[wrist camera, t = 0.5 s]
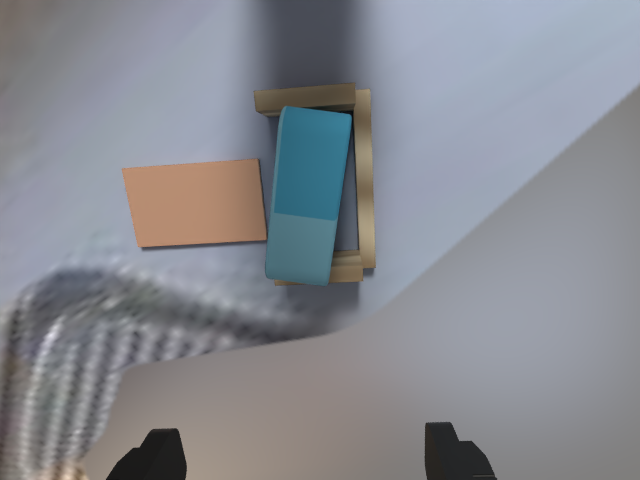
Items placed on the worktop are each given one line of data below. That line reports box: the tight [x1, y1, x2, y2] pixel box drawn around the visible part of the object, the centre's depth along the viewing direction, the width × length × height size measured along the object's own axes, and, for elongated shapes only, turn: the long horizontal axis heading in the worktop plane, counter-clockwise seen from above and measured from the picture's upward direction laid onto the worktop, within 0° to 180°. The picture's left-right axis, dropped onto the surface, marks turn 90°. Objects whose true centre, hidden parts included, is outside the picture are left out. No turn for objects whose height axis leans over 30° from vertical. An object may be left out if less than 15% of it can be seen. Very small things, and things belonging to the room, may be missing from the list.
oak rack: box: [254, 83, 376, 286], centre depth 31 cm, size 16×10×5 cm, turn 4°
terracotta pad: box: [122, 159, 268, 247], centre depth 35 cm, size 8×14×1 cm, turn 94°
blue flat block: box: [265, 106, 352, 286], centre depth 28 cm, size 12×4×12 cm, turn 173°
